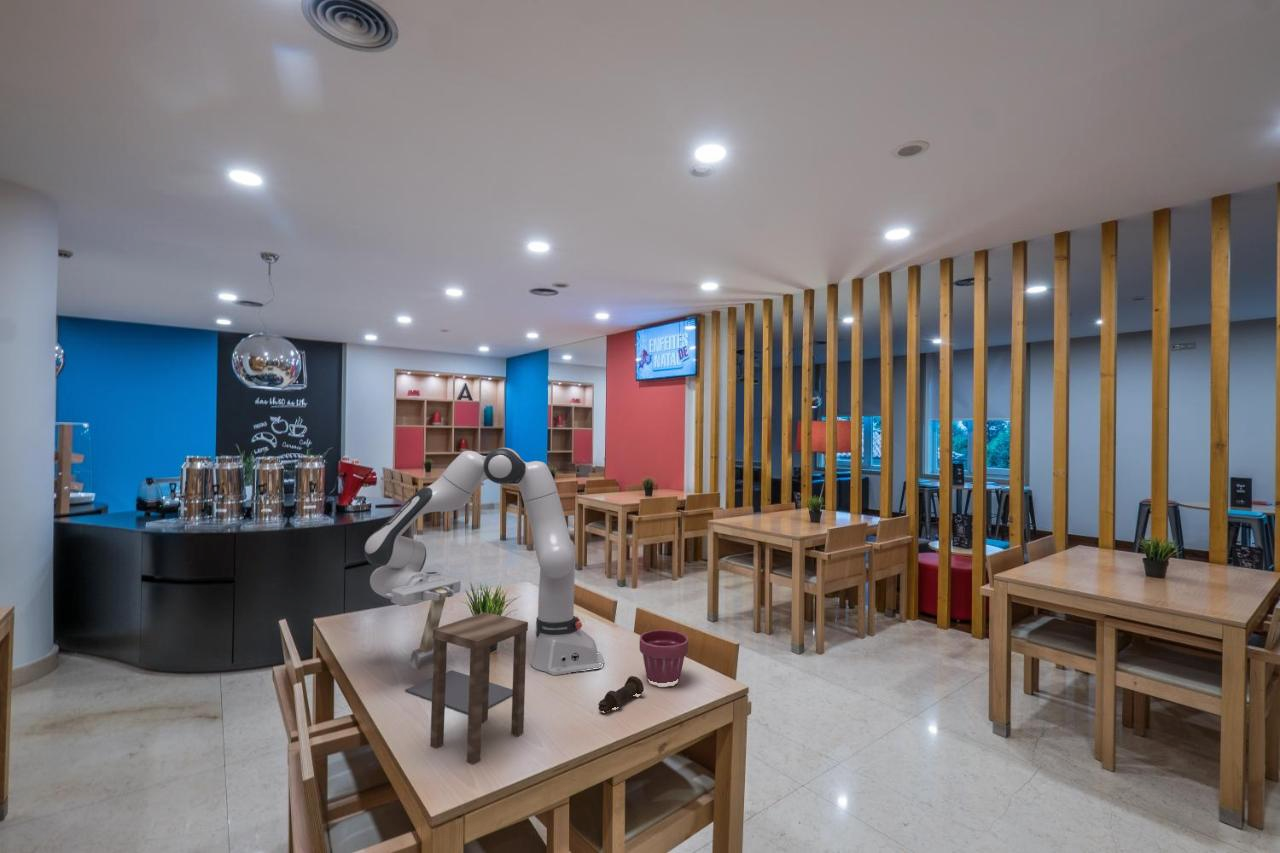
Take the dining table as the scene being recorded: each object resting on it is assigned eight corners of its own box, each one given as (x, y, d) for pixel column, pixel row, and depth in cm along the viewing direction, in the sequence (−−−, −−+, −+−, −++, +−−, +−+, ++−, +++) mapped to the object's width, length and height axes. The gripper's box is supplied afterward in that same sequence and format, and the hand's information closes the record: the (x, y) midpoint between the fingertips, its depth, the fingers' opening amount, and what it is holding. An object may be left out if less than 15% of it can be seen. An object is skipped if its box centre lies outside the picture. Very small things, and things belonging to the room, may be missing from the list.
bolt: (599, 721, 144) (633, 698, 157) (613, 716, 142) (646, 694, 154) (591, 698, 146) (625, 677, 158) (604, 693, 143) (638, 672, 156)
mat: (405, 691, 154) (405, 689, 154) (451, 672, 168) (451, 670, 168) (473, 716, 141) (473, 714, 141) (517, 693, 155) (517, 691, 155)
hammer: (427, 591, 156) (436, 597, 154) (447, 586, 162) (456, 592, 161) (409, 664, 159) (417, 670, 157) (429, 656, 165) (437, 662, 163)
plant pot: (656, 696, 155) (657, 649, 156) (629, 678, 167) (630, 634, 167) (697, 685, 163) (698, 640, 163) (668, 668, 175) (669, 626, 175)
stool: (428, 746, 127) (433, 629, 128) (481, 717, 141) (485, 612, 142) (473, 765, 120) (477, 641, 121) (524, 733, 134) (528, 622, 135)
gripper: (381, 583, 156) (414, 591, 149) (441, 570, 173) (473, 577, 166) (380, 606, 156) (413, 616, 149) (440, 591, 173) (472, 599, 166)
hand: (445, 595), depth 158 cm, fingers closed on hammer, 3 cm apart
